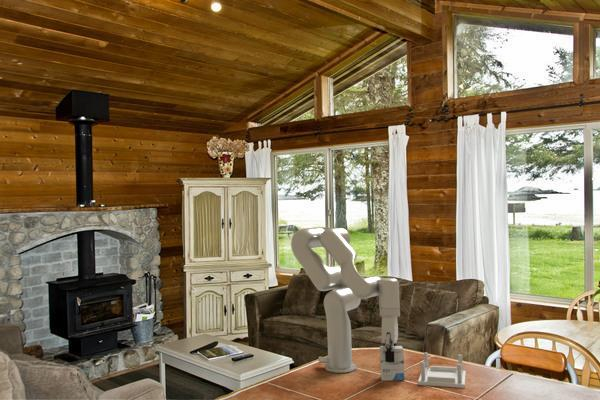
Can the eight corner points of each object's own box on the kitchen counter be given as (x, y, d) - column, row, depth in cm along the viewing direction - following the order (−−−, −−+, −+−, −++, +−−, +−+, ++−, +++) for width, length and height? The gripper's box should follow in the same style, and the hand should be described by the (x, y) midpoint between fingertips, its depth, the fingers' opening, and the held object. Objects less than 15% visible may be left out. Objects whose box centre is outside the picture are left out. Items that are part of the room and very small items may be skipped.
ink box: (403, 376, 199) (402, 345, 200) (404, 380, 195) (403, 348, 195) (380, 376, 200) (379, 345, 200) (381, 380, 195) (380, 348, 196)
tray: (418, 384, 189) (417, 363, 190) (422, 371, 205) (421, 351, 205) (464, 388, 184) (463, 366, 185) (465, 373, 200) (464, 353, 200)
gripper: (383, 307, 207) (385, 352, 207) (375, 316, 191) (377, 365, 190) (402, 307, 205) (404, 353, 205) (396, 316, 188) (398, 366, 188)
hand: (391, 358), depth 198 cm, fingers open, 7 cm apart
